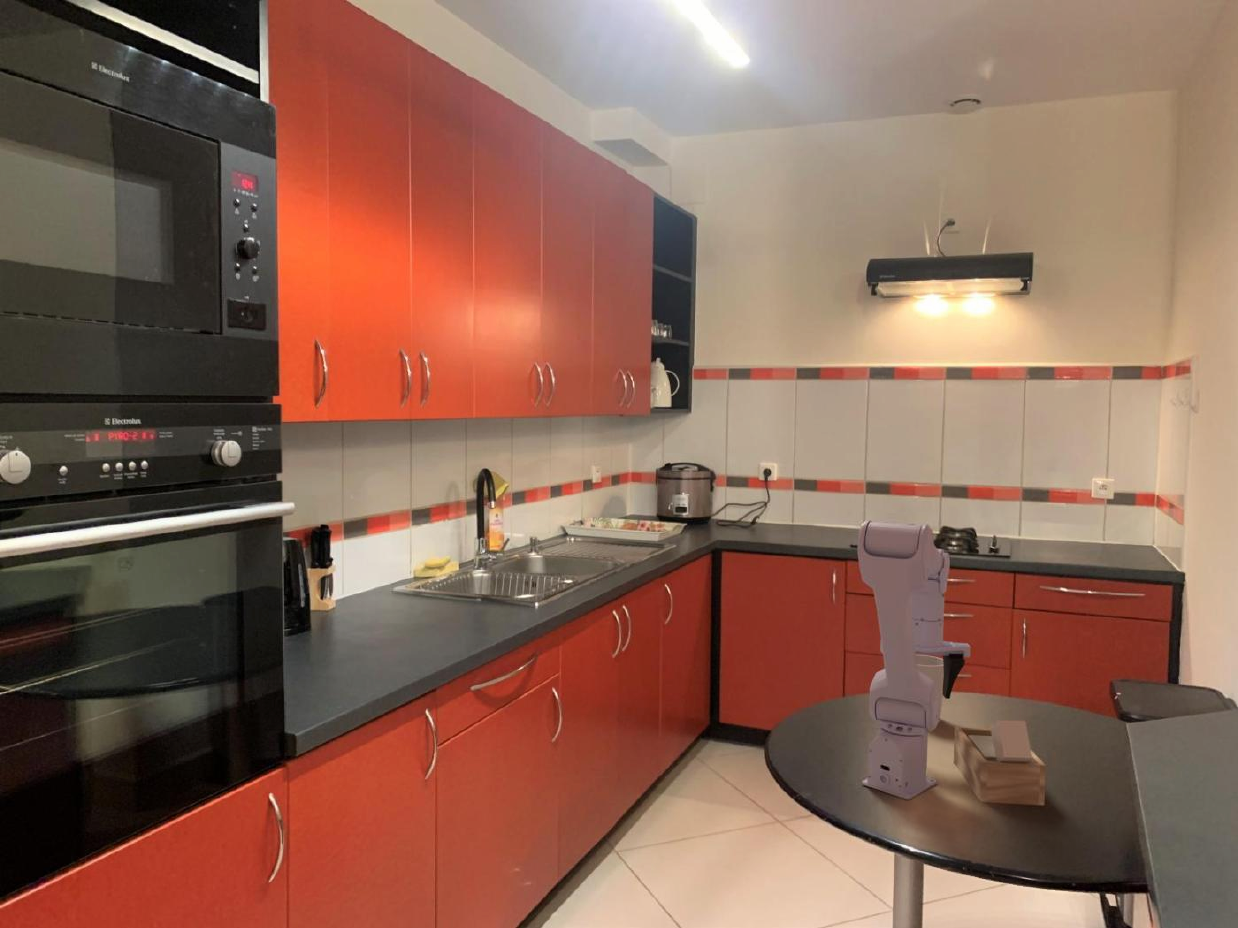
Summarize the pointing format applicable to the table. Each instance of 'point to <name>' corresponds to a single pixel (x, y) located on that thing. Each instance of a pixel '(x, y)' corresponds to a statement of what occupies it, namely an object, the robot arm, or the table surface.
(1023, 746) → the pinkish beige block
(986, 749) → the pale grey flat block
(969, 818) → the table surface
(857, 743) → the table surface
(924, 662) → the cup
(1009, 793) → the box
